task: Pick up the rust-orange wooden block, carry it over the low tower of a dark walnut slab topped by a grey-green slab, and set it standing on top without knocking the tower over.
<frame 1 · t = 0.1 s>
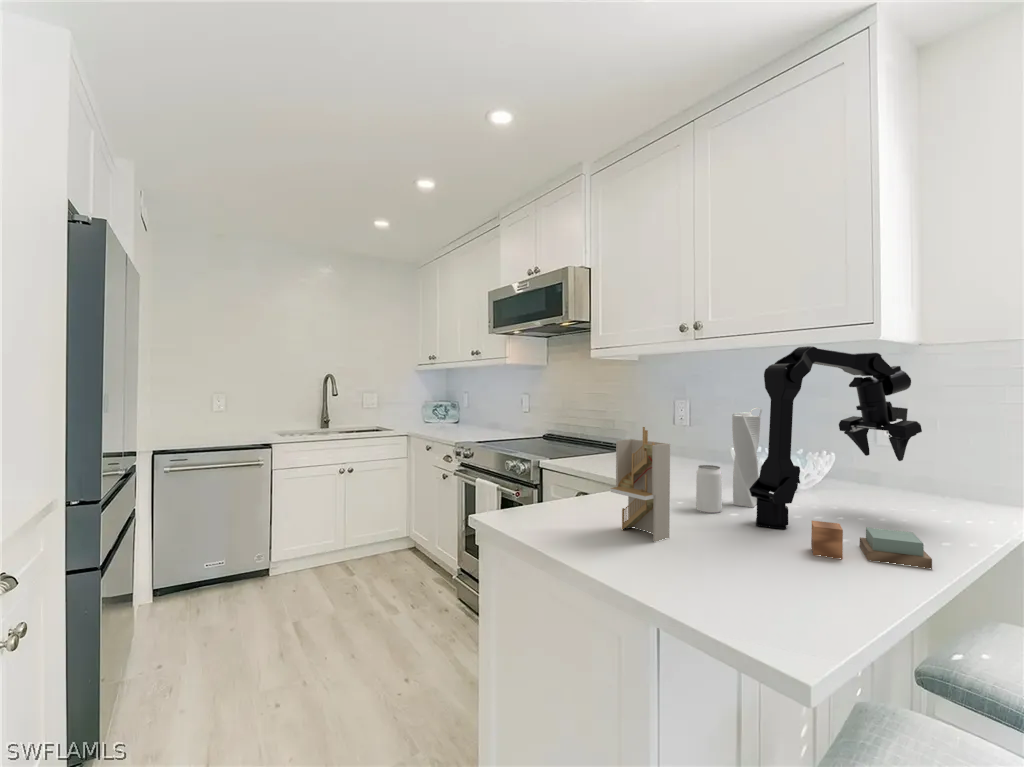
hand: (883, 457, 133), 15 cm above the counter, tool pointing down, fingers open, 9 cm apart
block: (826, 554, 105), on the counter
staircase: (641, 536, 118), on the counter
tower base: (893, 559, 103), on the counter
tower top: (893, 547, 103), point 2 cm above the counter
skyscraper: (746, 505, 146), on the counter
can: (708, 511, 139), on the counter
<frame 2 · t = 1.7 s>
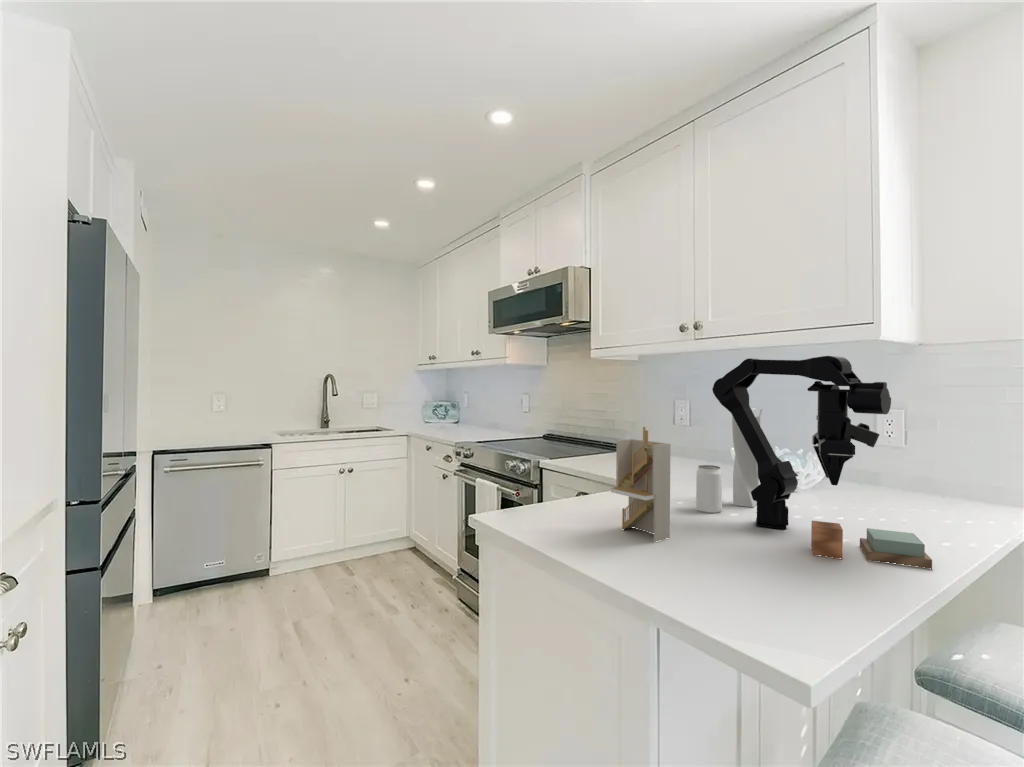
hand: (831, 481, 114), 13 cm above the counter, tool pointing down, fingers open, 9 cm apart
tower base: (893, 560, 103), on the counter, touching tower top
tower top: (894, 548, 103), point 2 cm above the counter, touching tower base
everything else where it was.
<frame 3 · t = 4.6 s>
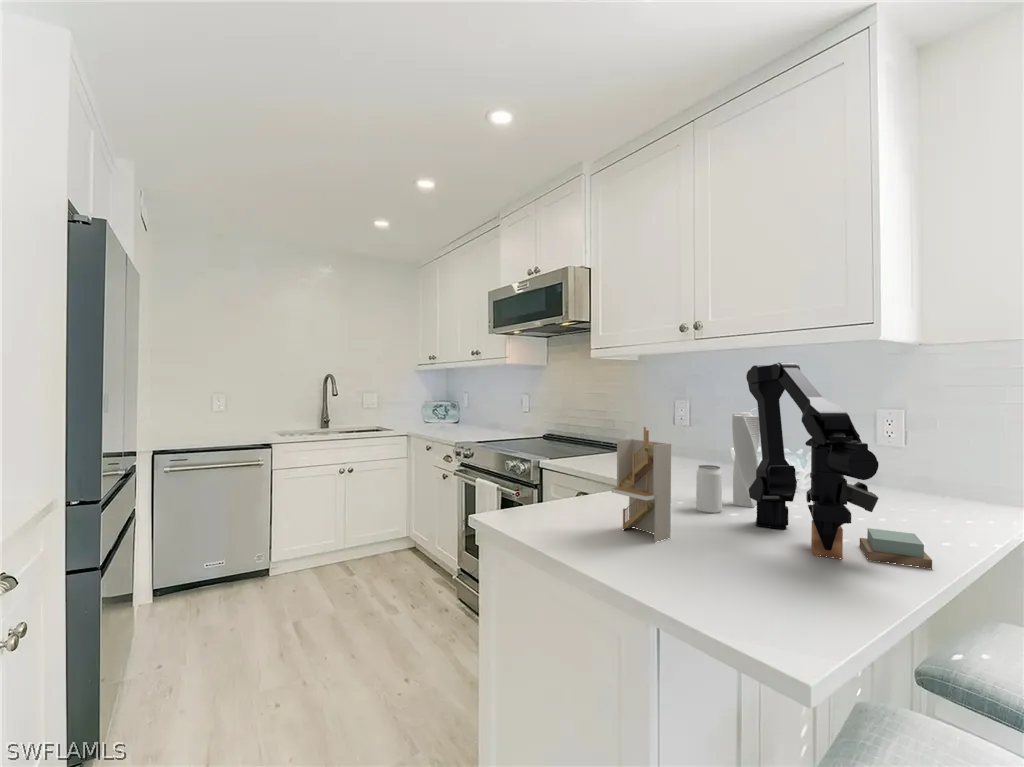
hand: (826, 546, 105), 2 cm above the counter, tool pointing down, fingers closed on block, 5 cm apart
block: (826, 553, 105), on the counter, touching gripper
everything else where it was.
when the fingers open (8 cm above the counter, at t = 9.0 s): block drops 2 cm, resting on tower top.
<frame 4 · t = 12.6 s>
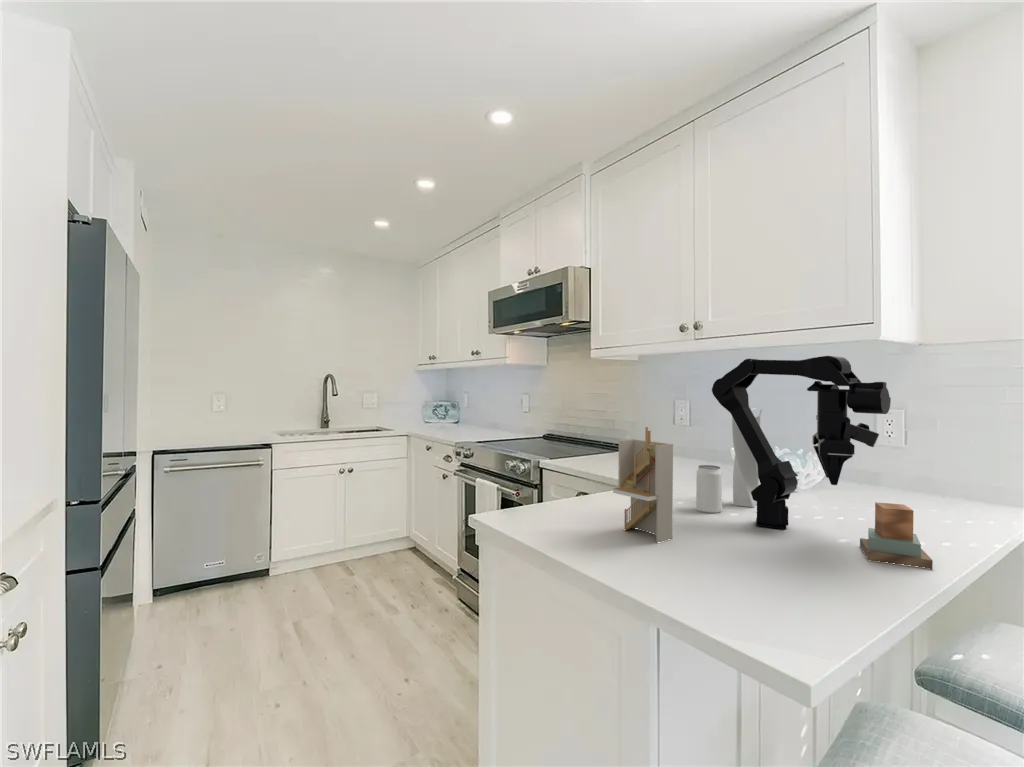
hand: (831, 481, 115), 13 cm above the counter, tool pointing down, fingers open, 9 cm apart
block: (893, 535, 103), point 4 cm above the counter, touching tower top
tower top: (893, 548, 103), point 2 cm above the counter, touching block, tower base
everything else where it was.
at the end: block 0.2 cm off-centre on the tower base, point 5.0 cm above the tower base's base; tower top 0.2 cm off-centre on the tower base, point 2.5 cm above the tower base's base; block tilted 0° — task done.
